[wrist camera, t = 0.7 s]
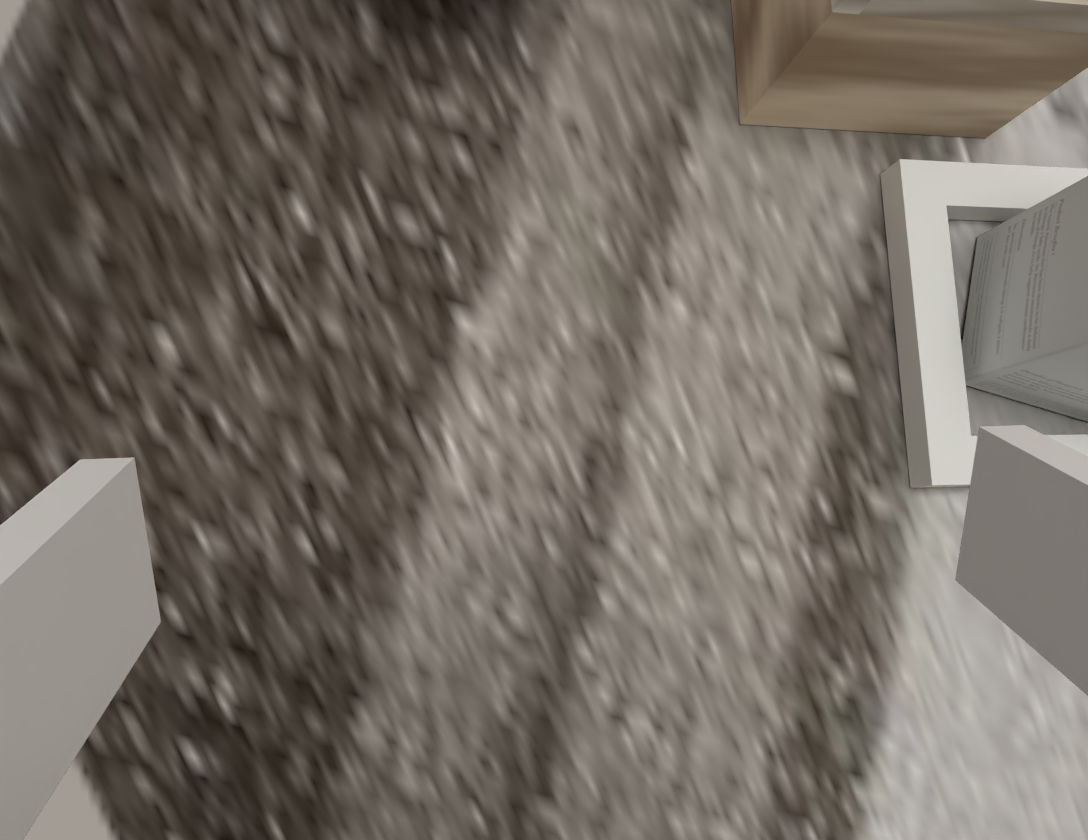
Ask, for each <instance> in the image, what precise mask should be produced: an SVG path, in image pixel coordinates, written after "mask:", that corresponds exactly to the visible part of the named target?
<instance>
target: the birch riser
mask: <svg viewBox="0 0 1088 840" xmlns="http://www.w3.org/2000/svg"><path fill="white" fill-rule="evenodd" d="M731 7H732V21H733V35H734V49H735V63H736V77H737V91H738V105H739V119H740V124H744V125H762V126H779V127H797V128H814V129H832V130H849V131H867V132H885V133H902V134H920V135H937V136H955V137H973V138H986V137H988V136H989V135H991V134H992V133H994V132H995V131H996V130H998V129H999V128H1001V127H1002V126H1004V125H1005V124H1007V123H1008V122H1009V121H1011V120H1012V119H1014V118H1015V117H1017V116H1018V115H1020V114H1021V113H1023V112H1024V111H1025V110H1027V109H1028V108H1030V107H1031V106H1033V105H1034V104H1036V103H1037V102H1038V101H1040V100H1041V99H1043V98H1044V97H1046V96H1047V95H1049V94H1050V93H1051V92H1053V91H1054V90H1056V89H1057V88H1059V87H1060V86H1062V85H1063V84H1064V83H1066V82H1067V81H1069V80H1070V79H1072V78H1073V77H1075V76H1076V75H1077V74H1079V73H1080V72H1082V71H1083V70H1085V69H1086V68H1088V0H731Z"/></svg>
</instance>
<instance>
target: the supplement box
mask: <svg viewBox="0 0 1088 840" xmlns="http://www.w3.org/2000/svg"><path fill="white" fill-rule="evenodd" d="M962 355H963V365H964V374H965V383H966V385H967V386H970V387H973V388H977V389H980V390H983V391H987V392H990V393H993V394H996V395H1000V396H1003V397H1006V398H1009V399H1013V400H1016V401H1020V402H1023V403H1026V404H1030V405H1033V406H1036V407H1040V408H1043V409H1047V410H1050V411H1053V412H1056V413H1060V414H1063V415H1067V416H1071V417H1073V418H1077V419H1080V420H1084V421H1088V176H1087V177H1085V178H1083V179H1081V180H1079V181H1078V182H1076V183H1074V184H1072V185H1070V186H1068V187H1067V188H1065V189H1063V190H1061V191H1060V192H1058V193H1056V194H1054V195H1052V196H1050V197H1048V198H1047V199H1045V200H1043V201H1041V202H1039V203H1038V204H1036V205H1034V206H1032V207H1030V208H1028V209H1027V210H1025V211H1023V212H1021V213H1020V214H1018V215H1016V216H1014V217H1012V218H1010V219H1009V220H1007V221H1005V222H1003V223H1001V224H1000V225H998V226H996V227H994V228H992V229H991V230H989V231H987V232H985V233H983V234H982V235H980V236H978V238H977V244H976V252H975V259H974V265H973V272H972V280H971V287H970V294H969V301H968V307H967V314H966V321H965V328H964V335H963V342H962Z"/></svg>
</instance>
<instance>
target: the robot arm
mask: <svg viewBox="0 0 1088 840" xmlns="http://www.w3.org/2000/svg"><path fill="white" fill-rule="evenodd" d="M955 580H956V581H957V582H958V583H959V584H960V585H962V586H963V587H964V588H965V589H966V590H967V591H968V592H970V593H971V594H972V595H973V596H974V597H975V598H976V599H978V600H979V601H980V602H981V603H982V604H983V605H984V606H986V607H987V608H988V609H989V610H990V611H991V612H992V613H994V614H995V615H996V616H997V617H998V618H999V619H1000V620H1002V621H1003V622H1004V623H1005V624H1006V625H1007V626H1008V627H1010V628H1011V629H1012V630H1013V631H1014V632H1015V633H1016V634H1018V635H1019V636H1020V637H1021V638H1022V639H1023V640H1024V641H1026V642H1027V643H1028V644H1029V645H1030V646H1031V647H1032V648H1034V649H1035V650H1036V651H1037V652H1038V653H1039V654H1040V655H1042V656H1043V657H1044V658H1045V659H1046V660H1047V661H1048V662H1050V663H1051V664H1052V665H1053V666H1054V667H1055V668H1057V669H1058V670H1059V671H1060V672H1061V673H1062V674H1063V675H1065V676H1066V677H1067V678H1068V679H1069V680H1070V681H1071V682H1073V683H1074V684H1075V685H1076V686H1077V687H1078V688H1079V689H1081V690H1082V691H1083V692H1084V693H1085V694H1086V695H1087V696H1088V456H1086V455H1084V454H1082V453H1080V452H1078V451H1076V450H1074V449H1072V448H1070V447H1068V446H1066V445H1064V444H1062V443H1060V442H1058V441H1056V440H1054V439H1052V438H1049V437H1047V436H1045V435H1043V434H1041V433H1039V432H1037V431H1035V430H1033V429H1031V428H1029V427H1027V426H1025V425H1012V426H984V427H979V431H978V437H977V444H976V450H975V457H974V463H973V470H972V476H971V482H970V489H969V495H968V502H967V508H966V515H965V521H964V528H963V534H962V540H961V547H960V553H959V560H958V566H957V573H956V579H955ZM160 622H161V620H160V614H159V608H158V601H157V595H156V589H155V583H154V577H153V570H152V564H151V558H150V552H149V546H148V539H147V533H146V527H145V521H144V515H143V508H142V502H141V496H140V490H139V483H138V477H137V471H136V465H135V459H134V458H111V459H83V460H79V461H78V462H77V463H76V464H74V465H73V466H72V467H71V468H70V469H68V470H67V471H66V472H65V473H63V474H62V475H61V476H60V477H59V478H57V479H56V480H55V481H54V482H52V483H51V484H50V485H49V486H48V487H46V488H45V489H44V490H43V491H42V492H40V493H39V494H38V495H37V496H35V497H34V498H33V499H32V500H31V501H29V502H28V503H27V504H26V505H24V506H23V507H22V508H21V509H20V510H18V511H17V512H16V513H15V514H14V515H12V516H11V517H10V518H9V519H7V520H6V521H5V522H4V523H3V524H1V525H0V840H23V839H24V838H25V836H26V834H27V833H28V831H29V830H30V828H31V827H32V825H33V823H34V822H35V820H36V819H37V817H38V816H39V814H40V812H41V811H42V809H43V808H44V806H45V805H46V803H47V801H48V800H49V798H50V797H51V795H52V793H53V792H54V790H55V789H56V787H57V785H58V784H59V782H60V781H61V779H62V777H63V776H64V774H65V773H66V771H67V770H68V768H69V767H70V765H71V763H72V762H73V760H74V759H75V757H76V755H77V754H78V752H79V751H80V749H81V748H82V746H83V744H84V743H85V741H86V740H87V738H88V736H89V735H90V733H91V732H92V730H93V729H94V727H95V725H96V724H97V722H98V721H99V719H100V717H101V716H102V714H103V713H104V711H105V710H106V708H107V706H108V705H109V703H110V702H111V700H112V698H113V697H114V695H115V694H116V692H117V691H118V689H119V687H120V686H121V684H122V683H123V681H124V679H125V678H126V676H127V675H128V673H129V672H130V670H131V668H132V667H133V665H134V664H135V662H136V660H137V659H138V657H139V656H140V654H141V653H142V651H143V649H144V648H145V646H146V645H147V643H148V641H149V640H150V638H151V637H152V635H153V633H154V632H155V630H156V629H157V627H158V626H159V624H160Z"/></svg>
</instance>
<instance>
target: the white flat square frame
mask: <svg viewBox="0 0 1088 840" xmlns="http://www.w3.org/2000/svg"><path fill="white" fill-rule="evenodd" d="M1087 176H1088V169H1082V168H1062V167H1042V166H1023V165H1003V164H983V163H964V162H944V161H925V160H905V159H899V160H898V161H897V162H895V163H894V164H893V165H892V166H890V167H889V168H888V169H886V170H885V171H884V172H882V173H881V174H880V177H881V187H882V197H883V208H884V218H885V229H886V239H887V250H888V260H889V270H890V281H891V291H892V302H893V312H894V322H895V333H896V343H897V354H898V364H899V375H900V385H901V395H902V406H903V416H904V427H905V437H906V447H907V458H908V468H909V479H910V488H931V487H970V482H971V476H972V470H973V463H974V457H975V450H976V444H977V437H978V436H971V430H970V421H969V411H968V402H967V393H966V383H965V374H964V365H963V355H962V346H961V337H960V327H959V318H958V309H957V299H956V290H955V281H954V271H953V262H952V253H951V243H950V234H949V225H948V219H952V220H979V221H1007V220H1009V219H1010V218H1012V217H1014V216H1016V215H1018V214H1020V213H1021V212H1023V211H1025V210H1027V209H1028V208H1030V207H1032V206H1034V205H1036V204H1038V203H1039V202H1041V201H1043V200H1045V199H1047V198H1048V197H1050V196H1052V195H1054V194H1056V193H1058V192H1060V191H1061V190H1063V189H1065V188H1067V187H1068V186H1070V185H1072V184H1074V183H1076V182H1078V181H1079V180H1081V179H1083V178H1085V177H1087ZM1045 436H1047V437H1049V438H1052V439H1054V440H1056V441H1058V442H1060V443H1062V444H1064V445H1066V446H1068V447H1070V448H1072V449H1074V450H1076V451H1078V452H1080V453H1082V454H1084V455H1086V456H1088V434H1084V435H1045Z"/></svg>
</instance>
